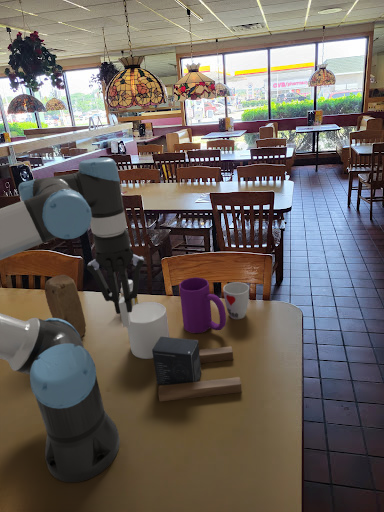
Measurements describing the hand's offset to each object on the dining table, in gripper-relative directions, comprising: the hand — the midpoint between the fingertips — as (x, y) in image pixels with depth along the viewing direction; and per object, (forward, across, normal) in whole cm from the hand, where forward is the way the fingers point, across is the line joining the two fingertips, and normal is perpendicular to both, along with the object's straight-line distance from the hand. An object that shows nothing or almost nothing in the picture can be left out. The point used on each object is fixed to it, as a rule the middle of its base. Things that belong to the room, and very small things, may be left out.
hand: (126, 323), depth 92 cm
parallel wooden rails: (+18, -16, 0) cm, 24 cm away
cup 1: (+19, -3, -15) cm, 24 cm away
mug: (+19, -20, -21) cm, 34 cm away
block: (+18, +23, -26) cm, 39 cm away
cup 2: (+19, -31, -27) cm, 45 cm away
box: (+19, -11, 0) cm, 21 cm away
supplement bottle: (+18, +5, -40) cm, 44 cm away
